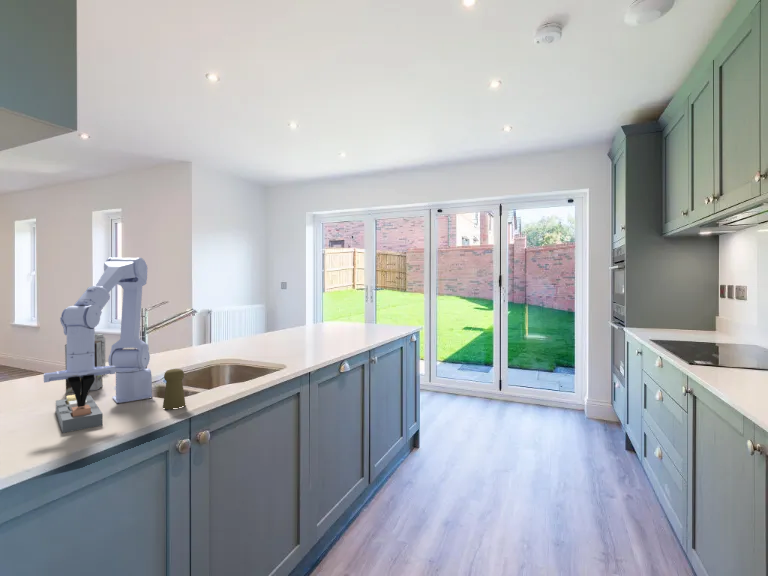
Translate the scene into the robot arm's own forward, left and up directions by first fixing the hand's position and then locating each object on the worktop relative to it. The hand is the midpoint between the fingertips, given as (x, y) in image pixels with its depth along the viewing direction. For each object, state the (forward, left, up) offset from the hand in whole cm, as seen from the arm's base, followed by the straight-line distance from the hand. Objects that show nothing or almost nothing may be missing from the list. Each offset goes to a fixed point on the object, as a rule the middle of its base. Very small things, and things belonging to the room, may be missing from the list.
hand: (81, 405), depth 103 cm
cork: (-22, -1, -5) cm, 23 cm away
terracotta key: (0, 0, -4) cm, 4 cm away
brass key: (0, -14, -4) cm, 14 cm away
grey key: (0, -7, -4) cm, 8 cm away
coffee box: (-5, -42, -5) cm, 42 cm away
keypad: (0, -7, -5) cm, 9 cm away
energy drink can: (-12, -72, -5) cm, 73 cm away
